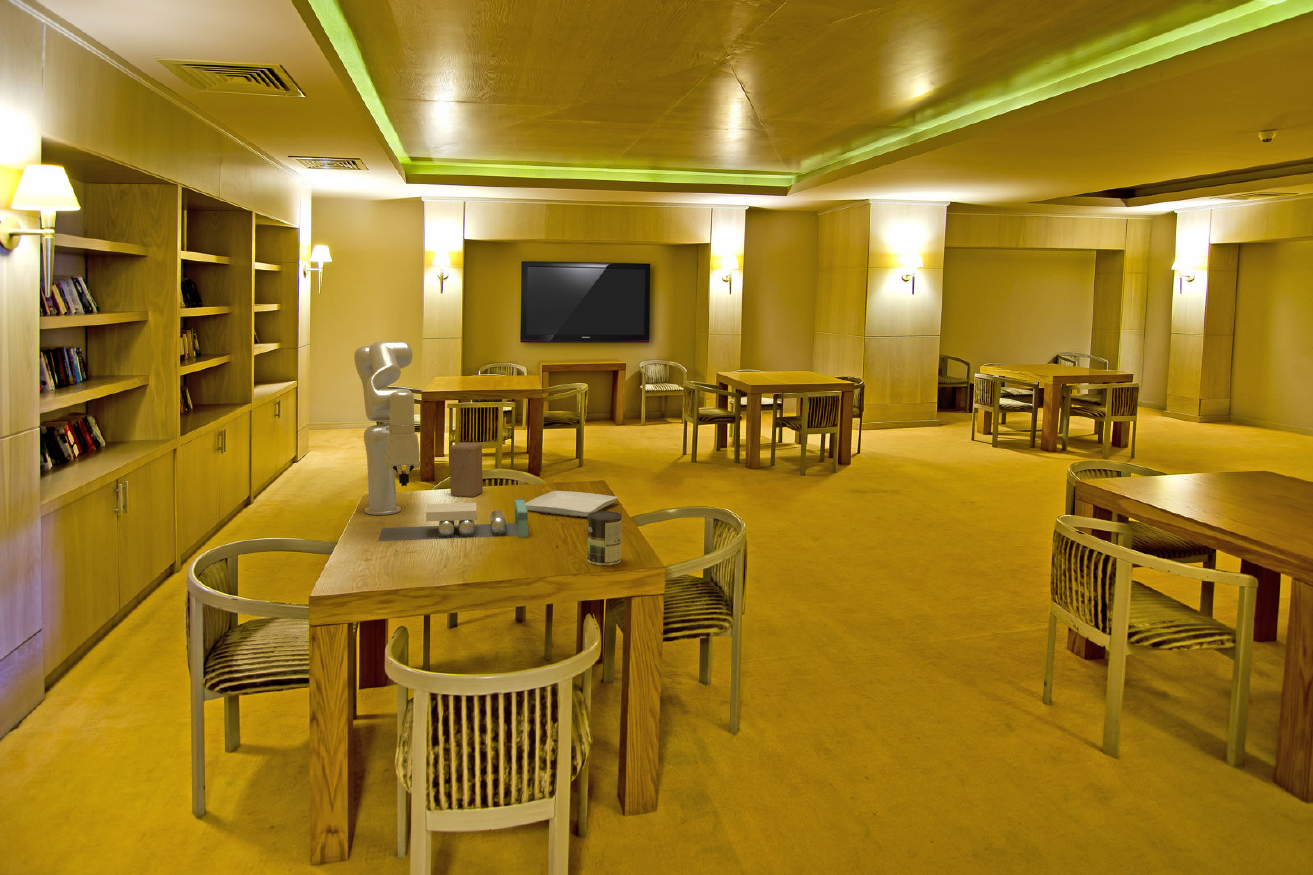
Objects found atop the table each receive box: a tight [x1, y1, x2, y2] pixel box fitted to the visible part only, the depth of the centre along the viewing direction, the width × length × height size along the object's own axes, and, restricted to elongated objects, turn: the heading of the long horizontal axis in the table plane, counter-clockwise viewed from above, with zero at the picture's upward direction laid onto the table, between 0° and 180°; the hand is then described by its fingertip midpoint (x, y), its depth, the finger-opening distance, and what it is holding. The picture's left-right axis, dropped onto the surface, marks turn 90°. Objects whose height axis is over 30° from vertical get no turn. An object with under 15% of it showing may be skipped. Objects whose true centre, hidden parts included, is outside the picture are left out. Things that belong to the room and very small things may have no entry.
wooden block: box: [449, 442, 484, 498], centre depth 364 cm, size 10×10×20 cm
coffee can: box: [586, 510, 623, 566], centre depth 276 cm, size 10×10×14 cm
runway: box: [377, 498, 531, 542], centre depth 306 cm, size 21×48×8 cm, turn 102°
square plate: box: [525, 490, 619, 518], centre depth 344 cm, size 27×27×4 cm
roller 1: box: [438, 520, 456, 539], centre depth 306 cm, size 16×5×5 cm
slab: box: [425, 502, 478, 522], centre depth 305 cm, size 12×16×3 cm
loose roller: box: [489, 509, 507, 537], centre depth 309 cm, size 16×5×5 cm, turn 12°
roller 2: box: [458, 520, 475, 537], centre depth 307 cm, size 16×5×5 cm, turn 12°
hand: (404, 485), depth 301 cm, fingers closed
